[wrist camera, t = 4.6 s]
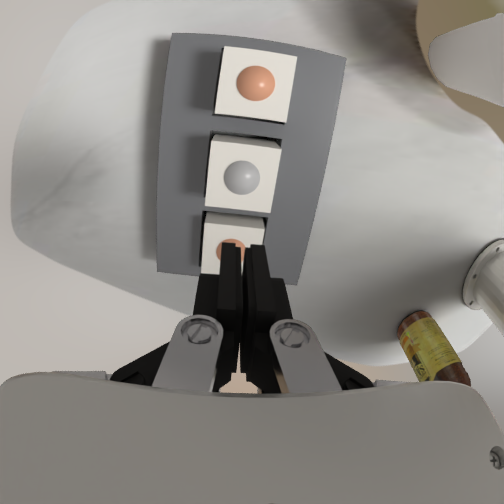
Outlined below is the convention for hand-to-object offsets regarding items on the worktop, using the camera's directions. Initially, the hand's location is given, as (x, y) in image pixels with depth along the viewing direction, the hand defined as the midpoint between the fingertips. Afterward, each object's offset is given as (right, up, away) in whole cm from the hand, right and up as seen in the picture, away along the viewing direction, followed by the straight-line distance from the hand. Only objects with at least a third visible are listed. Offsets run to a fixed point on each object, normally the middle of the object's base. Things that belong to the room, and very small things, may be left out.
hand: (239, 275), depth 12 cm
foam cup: (+22, +21, +9) cm, 32 cm away
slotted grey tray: (0, +9, +15) cm, 17 cm away
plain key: (0, +8, +13) cm, 15 cm away
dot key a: (-1, +3, +17) cm, 18 cm away
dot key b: (+1, +14, +9) cm, 17 cm away
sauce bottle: (+25, -10, +27) cm, 38 cm away
